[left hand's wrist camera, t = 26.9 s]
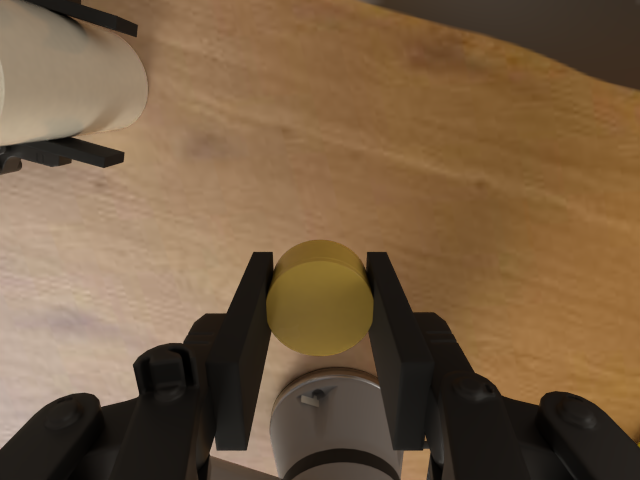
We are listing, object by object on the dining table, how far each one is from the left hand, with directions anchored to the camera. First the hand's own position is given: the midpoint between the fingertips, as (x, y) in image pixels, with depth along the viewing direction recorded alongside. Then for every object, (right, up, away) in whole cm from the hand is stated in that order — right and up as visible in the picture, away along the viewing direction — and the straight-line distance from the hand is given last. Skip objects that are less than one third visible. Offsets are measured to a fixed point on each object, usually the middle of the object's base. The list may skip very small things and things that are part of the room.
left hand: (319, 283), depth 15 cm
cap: (0, -1, -2) cm, 2 cm away
